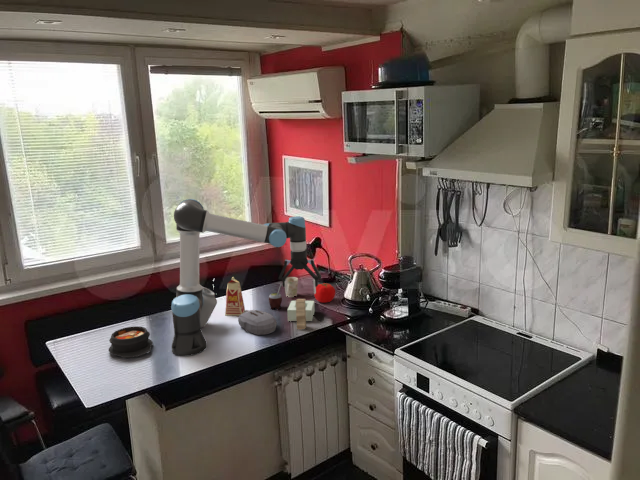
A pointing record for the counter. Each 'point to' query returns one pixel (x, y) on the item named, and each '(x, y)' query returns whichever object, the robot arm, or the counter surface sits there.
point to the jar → (207, 305)
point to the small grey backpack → (257, 322)
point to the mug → (292, 286)
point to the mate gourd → (275, 299)
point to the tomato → (324, 293)
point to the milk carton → (234, 299)
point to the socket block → (309, 311)
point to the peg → (301, 313)
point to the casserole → (130, 342)
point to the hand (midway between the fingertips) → (300, 293)
